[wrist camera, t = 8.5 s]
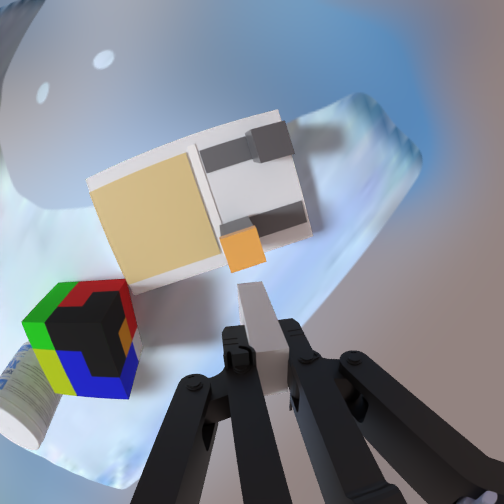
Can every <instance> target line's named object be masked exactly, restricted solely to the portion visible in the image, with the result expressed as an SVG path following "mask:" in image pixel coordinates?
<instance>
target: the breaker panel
mask: <svg viewBox="0 0 504 504" xmlns="http://www.w3.org/2000/svg"><path fill="white" fill-rule="evenodd" d="M280 121H281V118H280V114H279V111H278V110H274V111H269V112H266V113H262V114H258V115H254V116H250V117H247V118H243V119H240V120H237V121H233V122H230V123H226V124H223V125H220V126H217V127H213V128H210V129H207V130H205V131H201V132H198V133H195V134H192V135H190V136H187V137H184V138H181V139H178V140H176V141H173V142H170V143H168V144H165V145H163V146H160V147H157V148H155V149H152V150H150V151H147V152H145V153H142V154H140V155H137V156H136V157H133V158H130V159H128V160H126V161H124V162H121V163H119V164H117V165H115V166H112V167H110V168H108V169H106V170H104V171H102V172H99V173H97V174H95V175H93V176H91V177H89V178H87V179H86V182H87V185H88V188H89V191H90V196H91V199H92V201H93V204H94V207H95V209H96V212H97V215H98V217H99V220H100V222H101V225H102V227H103V230H104V232H105V234H106V237H107V239H108V242H109V244H110V246H111V249H112V251H113V253H114V255H115V258H116V260H117V262H118V264H119V266H120V269H121V271H122V273H123V275H124V277H125V279H126V281H127V283H128V285H129V286H130V288H131V290H132V292H133V294H134V296H135V295H138V294H141V293H144V292H147V291H150V290H153V289H156V288H159V287H162V286H165V285H168V284H171V283H174V282H177V281H180V280H183V279H186V278H189V277H192V276H195V275H198V274H201V273H204V272H207V271H210V270H213V269H216V268H220V267H223V266H226V265H228V262H227V259H226V256H225V254H224V251H223V248H222V245H221V243H220V240H219V237H221V236H220V226H219V225H222V224H225V223H228V222H231V221H234V220H237V219H240V218H243V217H246V216H248V217H249V219H250V221H251V222H252V224H253V226H254V225H255V227H256V229H257V232H258V235H259V239H260V242H261V245H262V248H263V252H264V253H265V252H268V251H271V250H273V249H276V248H279V247H282V246H285V245H288V244H291V243H294V242H297V241H300V240H303V239H306V238H309V237H312V236H313V234H312V230H311V226H310V222H309V218H308V214H307V210H306V206H305V202H304V198H303V194H302V191H301V187H300V183H299V179H298V176H297V172H296V168H295V165H294V161H293V158H292V155H289V156H285V157H282V158H278V159H275V160H271V161H268V162H264V163H256V162H253V158H252V155H251V152H250V149H249V146H248V142H247V139H246V136H245V133H246V132H247V131H249V130H251V129H254V128H258V127H261V126H265V125H269V124H273V123H276V122H280Z"/></svg>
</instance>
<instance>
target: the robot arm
mask: <svg viewBox="0 0 504 504" xmlns="http://www.w3.org/2000/svg"><path fill="white" fill-rule="evenodd" d="M237 289H238V302H239V315H240V325H238V326H229V327H225V328H224V330H223V332H222V339H223V350H224V355H223V357H224V364H225V367H224V369H223V371H222V372H221V373H219V374H218V375H216V376H214V377H211V378H207V377H206V376H204V375H201V374H191V375H188V376H185V377H184V378H182V379H181V381H180V382H179V384H178V386H177V389H176V391H175V393H174V396H173V398H172V401H171V403H170V406H169V408H168V410H167V413H166V415H165V418H164V420H163V423H162V425H161V427H160V430H159V432H158V435H157V437H156V440H155V442H154V445H153V447H152V450H151V452H150V455H149V457H148V460H147V462H146V465H145V467H144V470H143V472H142V475H141V477H140V480H139V482H138V485H137V487H136V490H135V493H134V495H133V498H132V500H131V503H130V504H199V501H200V498H201V493H202V489H203V485H204V481H205V477H206V473H207V469H208V465H209V460H210V456H211V452H212V448H213V444H214V440H215V435H216V431H217V427H218V422H219V421H221V420H225V419H227V418H230V417H231V421H232V428H233V436H234V443H235V450H236V457H237V464H238V470H239V477H240V483H241V489H242V496H243V502H244V504H292V500H291V496H290V493H289V489H288V486H287V482H286V478H285V475H284V471H283V467H282V464H281V460H280V456H279V452H278V449H277V445H276V442H275V437H274V433H273V429H272V426H271V422H270V418H269V414H268V410H267V407H266V402H265V398H264V396H267V395H274V394H280V393H286V392H288V387H289V390H290V406H289V408H290V410H292V407H293V410H294V413H295V416H296V419H297V422H298V425H299V428H300V431H301V434H302V437H303V440H304V443H305V446H306V449H307V452H308V455H309V457H310V461H311V464H312V466H313V469H314V472H315V475H316V478H317V481H318V484H319V487H320V490H321V493H322V496H323V498H324V501H325V504H407V503H406V501H405V499H404V497H403V495H402V493H401V491H400V490H399V488H398V487H397V486H395V485H394V484H389V483H388V482H386V480H385V479H384V477H383V474H382V472H381V471H380V469H379V467H378V465H377V463H376V461H375V459H374V457H373V455H372V453H371V451H370V449H369V447H368V445H367V443H366V441H365V439H366V440H367V441H368V442H369V443H370V444H371V445H372V446H373V447H374V448H375V449H376V450H377V451H378V452H379V454H380V455H381V456H382V457H383V458H384V459H385V460H386V461H387V462H388V463H389V464H390V465H391V466H392V467H393V468H394V469H395V471H396V472H397V473H398V474H399V475H400V476H401V477H402V478H403V479H404V480H405V481H406V482H407V483H408V484H409V485H410V486H411V487H412V488H413V489H414V490H415V491H416V492H417V493H418V494H419V495H420V496H421V497H422V498H423V499H424V500H425V501H426V502H427V503H428V504H504V462H501V461H498V460H495V459H492V458H489V457H488V456H486V455H485V454H484V453H483V452H482V451H480V450H479V449H478V448H477V447H476V446H474V445H473V444H472V443H471V442H469V441H468V440H467V439H466V438H465V437H463V436H462V435H461V434H460V433H459V432H457V431H456V430H455V429H454V428H453V427H451V426H450V425H449V424H448V423H447V422H446V421H444V420H443V419H442V418H441V417H439V416H438V415H437V414H436V413H435V412H434V411H432V410H431V409H430V408H429V407H427V406H426V405H425V404H424V403H423V402H422V401H420V400H419V399H418V398H417V397H416V396H414V395H413V394H412V393H411V392H409V391H408V390H407V389H406V388H405V387H404V386H403V385H401V384H400V383H399V382H398V381H397V380H395V379H394V378H393V377H392V376H391V375H389V374H388V373H387V372H386V371H385V370H383V369H382V368H381V367H380V366H379V365H378V364H376V363H375V362H374V361H373V360H372V359H370V358H369V357H368V356H367V355H366V354H364V353H362V352H360V351H347V352H345V353H343V354H342V355H341V357H340V359H325V358H322V357H321V355H320V354H319V353H318V352H316V351H314V350H312V348H311V346H310V344H309V342H308V340H307V338H306V337H305V335H304V332H303V330H302V328H301V326H300V324H299V323H298V322H297V321H295V320H294V319H293V318H290V319H283V320H278V319H277V317H276V315H275V312H274V310H273V307H272V305H271V302H270V300H269V297H268V295H267V292H266V290H265V288H264V285H263V283H262V282H252V283H242V284H237ZM363 436H364V437H365V439H364V437H363Z"/></svg>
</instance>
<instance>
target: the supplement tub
mask: <svg viewBox="0 0 504 504" xmlns="http://www.w3.org/2000/svg"><path fill="white" fill-rule="evenodd" d="M62 395H63V394H57V393H55V392H54V390H53V389H52V387H51V385H50V383H49V381H48V379H47V377H46V376H45V374H44V372H43V370H42V368H41V366H40V364H39V361H38V359H37V357H36V355H35V353H34V351H33V349H32V346H31V344H30V342H29V341H28V342H26V343H24V344H23V345H22V346H21V348H20V349H19V350H18V352H17V353H16V354H15V356H14V357H13V359H12V360H11V361H10V363H9V364H8V366H7V367H6V369H5V370H4V372H3V373H2V374H1V376H0V433H1V434H2V435H4V436H5V437H6V438H7V439H9V440H10V441H12V442H14V443H15V444H17V445H19V446H21V447H23V448H26V449H30V450H37V449H39V447H40V445H41V443H42V442H43V440H44V438H45V435H46V433H47V430H48V428H49V425H50V423H51V420H52V418H53V416H54V413H55V411H56V408H57V406H58V404H59V402H60V399H61V397H62Z"/></svg>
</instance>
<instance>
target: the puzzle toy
mask: <svg viewBox="0 0 504 504" xmlns="http://www.w3.org/2000/svg"><path fill="white" fill-rule="evenodd" d="M22 325H23V327H24V330H25V332H26V335H27V337H28V339H29V342H30V344H31V346H32V349H33V351H34V353H35V355H36V357H37V359H38V361H39V364H40V366H41V368H42V370H43V372H44V374H45V376H46V377H47V379H48V381H49V383H50V385H51V387H52V389H53V390H54V392H55V393H57V394H65V395H73V396H83V397H95V398H110V399H129V397H130V393H131V389H132V385H133V381H134V378H135V374H136V370H137V367H138V363H139V359H140V356H141V352H142V349H143V345H142V341H141V338H140V334H139V330H138V326H137V322H136V318H135V314H134V310H133V306H132V302H131V298H130V293H129V289H128V284H127V281H126V279H114V280H98V281H81V282H64V283H58V284H57V285H56V286H55V287H54V288H53V289H52V290H51V291H50V292H49V293H48V294H47V295H46V296H45V297H44V298H43V299H42V300H41V301H40V302H39V303H38V304H37V305H36V306H35V308H34V309H33V310H32V311H31V312H30V313H29V314H28V315H27V316H26V317H25V319H24V320H23V321H22Z"/></svg>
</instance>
